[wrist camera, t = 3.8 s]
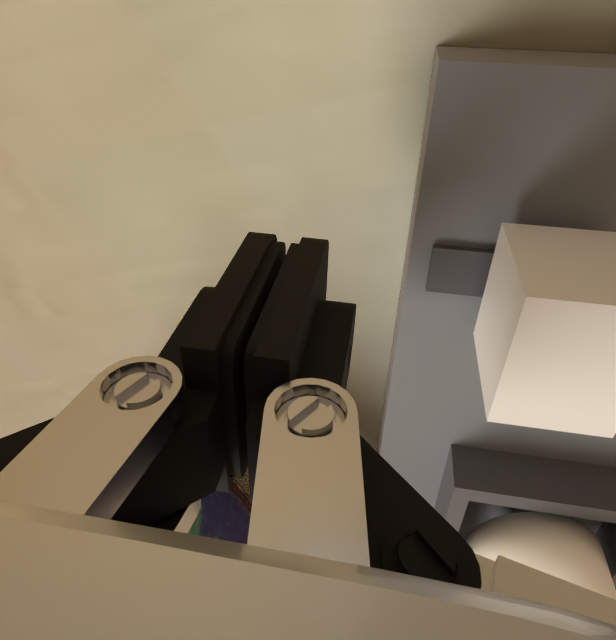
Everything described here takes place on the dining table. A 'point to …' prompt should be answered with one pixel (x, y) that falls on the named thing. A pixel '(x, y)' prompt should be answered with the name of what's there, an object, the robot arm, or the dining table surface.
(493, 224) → the panel
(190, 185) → the dining table surface
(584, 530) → the ivory button
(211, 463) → the robot arm
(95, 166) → the dining table surface
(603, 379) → the beige cube
